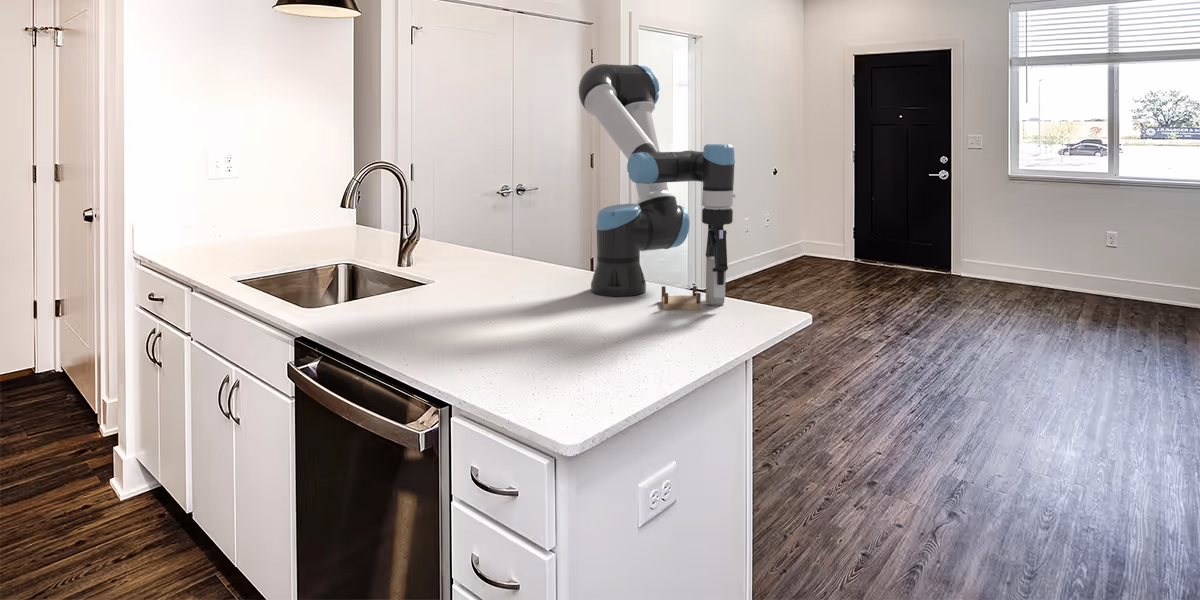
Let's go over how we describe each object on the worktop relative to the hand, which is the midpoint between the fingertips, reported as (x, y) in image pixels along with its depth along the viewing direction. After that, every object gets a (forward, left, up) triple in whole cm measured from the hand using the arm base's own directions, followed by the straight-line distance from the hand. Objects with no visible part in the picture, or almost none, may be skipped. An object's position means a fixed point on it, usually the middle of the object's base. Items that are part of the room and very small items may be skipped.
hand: (715, 291), depth 194 cm
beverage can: (0, 0, -4) cm, 4 cm away
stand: (-4, -8, -3) cm, 10 cm away
